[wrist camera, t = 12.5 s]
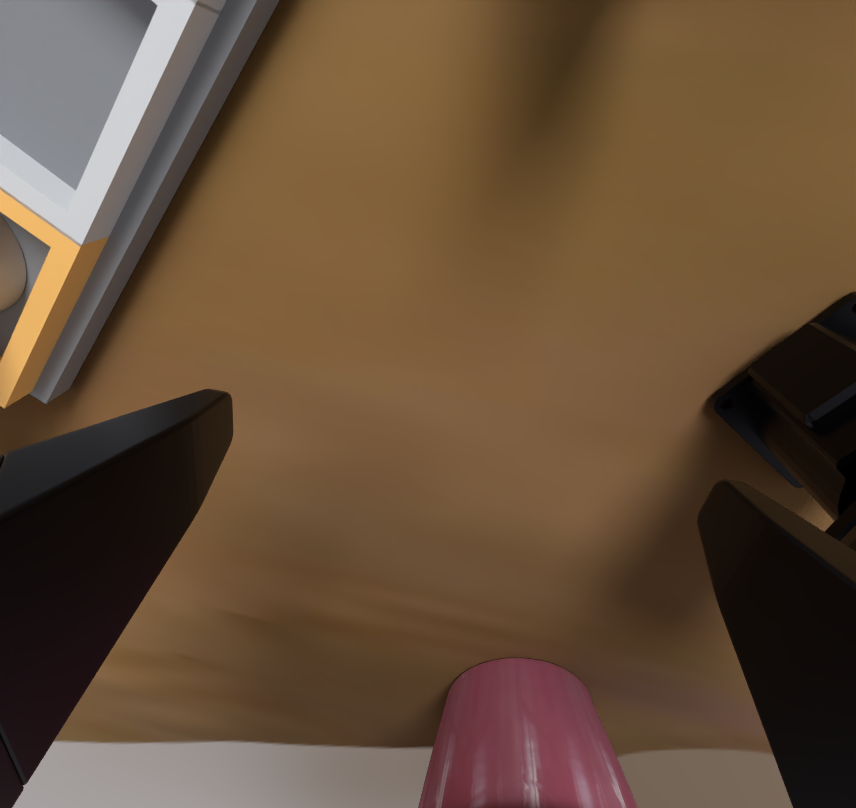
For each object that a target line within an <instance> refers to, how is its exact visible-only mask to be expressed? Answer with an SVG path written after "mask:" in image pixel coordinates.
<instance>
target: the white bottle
mask: <svg viewBox="0 0 856 808" xmlns="http://www.w3.org/2000/svg"><path fill="white" fill-rule="evenodd" d="M25 283H26V266H25V260H24V257H23V253H22V250H21V248H20V246H19V243H18V241H17V239H16V237H15V235H14V234H13V232H12V231H11V229H10V227H9V226H8V224H7V223H6V222H5V221H4V219H3V218H2V217H1V216H0V311H3V310H5V309H7V308H9V307H11V306H12V305H14V304H15V303H16V302H17V301H18V299H19V298H20V297H21V295H22V293H23V291H24V287H25Z"/></svg>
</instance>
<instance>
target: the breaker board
mask: <svg viewBox="0 0 856 808" xmlns="http://www.w3.org/2000/svg"><path fill="white" fill-rule="evenodd" d="M279 1H280V0H0V216H1V217H2V218H3V219H4V221H5V222H6V223H7V224H8V226H9V227H10V229H11V231H12V232H13V234H14V235H15V237H16V239H17V241H18V243H19V246H20V248H21V250H22V253H23V257H24V260H25V266H26V283H25V287H24V291H23V293H22V295H21V297H20V298H19V299H18V301H17V302H16V303H15V304H14V305H12V306H11V307H9V308H7V309H5V310H3V311H0V406H1V407H2V408H6V407H8V406H9V405H11V404H13V403H14V402H16V401H17V400H19V399H21V398H22V397H24V396H26V395H27V394H30V395H32V396H34V397H35V398H37V399H38V400H40V401H42V402H43V403H45V404H47V403H49V402H50V401H52V400H53V399H55V398H56V397H58V396H59V395H61V394H62V393H64V392H65V391H67V390H68V389H70V387H71V385H72V383H73V381H74V379H75V378H76V376H77V374H78V372H79V370H80V368H81V366H82V365H83V363H84V361H85V359H86V357H87V355H88V354H89V352H90V350H91V348H92V346H93V344H94V342H95V341H96V339H97V337H98V335H99V333H100V331H101V329H102V328H103V326H104V324H105V322H106V320H107V318H108V317H109V315H110V313H111V311H112V309H113V307H114V305H115V304H116V302H117V300H118V298H119V296H120V294H121V293H122V291H123V289H124V287H125V285H126V283H127V281H128V280H129V278H130V276H131V274H132V272H133V270H134V268H135V267H136V265H137V263H138V261H139V259H140V257H141V256H142V254H143V252H144V250H145V248H146V246H147V244H148V243H149V241H150V239H151V237H152V235H153V233H154V232H155V230H156V228H157V226H158V224H159V222H160V220H161V219H162V217H163V215H164V213H165V211H166V209H167V208H168V206H169V204H170V202H171V200H172V198H173V196H174V195H175V193H176V191H177V189H178V187H179V185H180V183H181V182H182V180H183V178H184V176H185V174H186V172H187V171H188V169H189V167H190V165H191V163H192V161H193V159H194V158H195V156H196V154H197V152H198V150H199V148H200V147H201V145H202V143H203V141H204V139H205V137H206V135H207V134H208V132H209V130H210V128H211V126H212V124H213V123H214V121H215V119H216V117H217V115H218V113H219V111H220V110H221V108H222V106H223V104H224V102H225V100H226V98H227V97H228V95H229V93H230V91H231V89H232V87H233V86H234V84H235V82H236V80H237V78H238V76H239V74H240V73H241V71H242V69H243V67H244V65H245V63H246V62H247V60H248V58H249V56H250V54H251V52H252V50H253V49H254V47H255V45H256V43H257V41H258V39H259V37H260V36H261V34H262V32H263V30H264V28H265V26H266V25H267V23H268V21H269V19H270V17H271V15H272V13H273V12H274V10H275V8H276V6H277V4H278V2H279Z"/></svg>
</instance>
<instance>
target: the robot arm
mask: <svg viewBox="0 0 856 808" xmlns="http://www.w3.org/2000/svg"><path fill="white" fill-rule="evenodd" d="M855 304H856V292H852V293H849V294H848V295H846V296H844V297H843V298H842V299H840V300H839V301H838V302H836V303H835V304H834V305H832V306H831V307H830V308H828V309H827V310H826V311H824V312H823V313H822V314H820V315H819V316H818V317H816V318H815V319H814V320H812V321H811V322H810V323H808V324H806V325H804V326H803V327H802V328H800V329H799V330H798V331H796V332H795V333H794V334H792V335H791V336H790V337H788V338H787V339H786V340H784V341H783V342H782V343H780V344H779V345H778V346H776V347H775V348H774V349H772V350H771V351H770V352H768V353H767V354H766V355H764V356H763V357H762V358H760V359H759V360H758V361H756V362H755V363H754V364H752V365H751V366H750V367H749V368H748V369H747V370H745V371H744V372H743V373H741V374H740V375H739V376H737V377H736V378H735V379H733V380H732V381H731V382H729V383H728V384H727V385H725V386H724V387H723V388H721V389H720V390H719V391H717V392H716V393H715V394H714V395H713V396H712V398H711V400H710V404H711V406H712V408H713V409H714V410H715V411H716V412H717V413H718V414H719V415H720V416H721V417H722V418H723V419H724V420H725V421H726V422H727V423H728V424H729V425H730V426H731V427H732V428H733V429H734V430H735V431H736V432H737V433H738V434H740V435H741V436H742V437H743V438H744V439H745V440H746V441H747V442H748V443H749V444H750V445H751V446H752V447H753V448H754V449H755V450H756V451H757V452H758V453H759V454H760V455H761V456H762V457H763V458H764V459H766V460H767V461H768V462H769V463H770V464H771V465H772V466H773V467H774V468H775V469H776V470H777V471H778V472H779V473H780V474H781V475H782V476H783V477H784V478H785V479H786V480H787V481H788V482H789V483H790V484H792V485H793V486H794V487H799V488H801V487H804V488H805V489H806V490H807V492H808V493H809V494H810V495H811V496H812V497H813V498H814V499H815V500H816V501H817V502H818V504H819V505H820V506H821V507H822V508H823V509H824V510H825V511H826V512H827V513H828V514H829V516H830V517H831V518H832V519H833V520H834V522H833V523H832V524H831V525H830V527H829V528H828V529H827V530H826V531H825V532H824V531H822V530H820V529H819V528H817V527H815V526H814V525H812V524H811V523H809V522H807V521H806V520H804V519H802V518H801V517H799V516H798V515H796V514H794V513H793V512H791V511H789V510H788V509H786V508H785V507H783V506H781V505H780V504H778V503H776V502H775V501H773V500H772V499H770V498H768V497H767V496H765V495H763V494H762V493H760V492H759V491H757V490H755V489H754V488H752V487H750V486H749V485H747V484H745V483H742V482H738V481H732V480H726V479H722V480H719V481H717V482H716V483H715V485H714V486H713V488H712V490H711V492H710V493H709V495H708V497H707V499H706V501H705V502H704V504H703V506H702V508H701V510H700V512H699V514H698V519H697V524H698V529H699V533H700V537H701V541H702V545H703V549H704V553H705V557H706V561H707V565H708V569H709V573H710V577H711V581H712V585H713V589H714V592H715V596H716V599H717V602H718V605H719V608H720V611H721V614H722V617H723V619H724V622H725V625H726V627H727V630H728V633H729V636H730V638H731V641H732V644H733V646H734V649H735V652H736V654H737V657H738V660H739V663H740V665H741V668H742V671H743V673H744V676H745V679H746V682H747V684H748V687H749V690H750V692H751V695H752V698H753V700H754V703H755V706H756V709H757V711H758V714H759V717H760V719H761V722H762V725H763V728H764V730H765V733H766V736H767V738H768V741H769V744H770V746H771V749H772V752H773V755H774V757H775V760H776V763H777V765H778V768H779V771H780V773H781V776H782V779H783V781H784V784H785V787H786V790H787V792H788V795H789V798H790V801H791V803H792V806H793V808H856V309H855V310H853V311H852V308H853V306H854V305H855ZM726 399H729V402H728V403H727V404H725V405H721V403H722V402H723V401H724V400H726ZM232 437H233V409H232V398H231V395H230V394H229V393H228V392H225V391H219V390H213V389H204V390H201V391H198V392H195V393H192V394H188V395H185V396H182V397H179V398H176V399H173V400H170V401H166V402H163V403H160V404H157V405H154V406H151V407H148V408H145V409H141V410H138V411H135V412H132V413H129V414H126V415H123V416H120V417H116V418H113V419H110V420H107V421H104V422H101V423H98V424H94V425H91V426H88V427H85V428H82V429H79V430H76V431H73V432H69V433H66V434H63V435H60V436H57V437H54V438H51V439H47V440H44V441H41V442H38V443H35V444H32V445H29V446H26V447H22V448H19V449H16V450H13V451H10V452H7V453H6V454H5V456H3V455H0V808H12V807H13V805H14V804H15V802H16V800H17V799H18V797H19V796H20V794H21V792H22V791H23V788H24V787H23V785H25V784H26V783H27V782H28V781H29V779H30V778H31V776H32V774H33V773H34V771H35V770H36V768H37V767H38V765H39V763H40V761H41V760H42V759H43V757H44V755H45V754H46V752H47V751H48V749H49V748H50V746H51V744H52V743H53V741H54V740H55V738H56V736H57V735H58V733H59V732H60V730H61V729H62V727H63V725H64V724H65V722H66V721H67V719H68V717H69V716H70V714H71V713H72V711H73V710H74V708H75V706H76V705H77V703H78V702H79V700H80V698H81V697H82V695H83V694H84V692H85V691H86V689H87V687H88V686H89V684H90V683H91V681H92V679H93V678H94V676H95V675H96V673H97V672H98V670H99V668H100V667H101V665H102V664H103V662H104V660H105V659H106V657H107V656H108V654H109V653H110V651H111V649H112V648H113V646H114V645H115V643H116V641H117V640H118V638H119V637H120V635H121V634H122V632H123V630H124V629H125V627H126V626H127V624H128V622H129V621H130V619H131V618H132V616H133V615H134V613H135V611H136V610H137V608H138V607H139V605H140V603H141V602H142V600H143V599H144V597H145V596H146V594H147V592H148V591H149V589H150V588H151V586H152V584H153V583H154V581H155V580H156V578H157V576H158V575H159V573H160V572H161V570H162V569H163V567H164V565H165V564H166V562H167V561H168V559H169V557H170V556H171V554H172V553H173V551H174V550H175V548H176V546H177V545H178V543H179V542H180V540H181V538H182V537H183V535H184V534H185V532H186V531H187V529H188V527H189V526H190V524H191V523H192V521H193V519H194V518H195V516H196V514H197V513H198V511H199V509H200V507H201V505H202V503H203V501H204V499H205V497H206V495H207V493H208V491H209V489H210V486H211V484H212V482H213V480H214V478H215V476H216V474H217V472H218V469H219V467H220V465H221V463H222V461H223V459H224V457H225V455H226V453H227V450H228V448H229V446H230V444H231V441H232Z"/></svg>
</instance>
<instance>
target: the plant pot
mask: <svg viewBox="0 0 856 808" xmlns="http://www.w3.org/2000/svg"><path fill="white" fill-rule="evenodd" d="M418 808H638V807H637V804H636V802H635V800H634V797H633V795H632V792H631V790H630V787H629V785H628V783H627V780H626V778H625V776H624V773H623V771H622V768H621V766H620V764H619V761H618V759H617V757H616V754H615V752H614V750H613V747H612V745H611V743H610V740H609V738H608V736H607V734H606V732H605V729H604V727H603V725H602V723H601V721H600V718H599V716H598V714H597V712H596V709H595V707H594V704H593V702H592V700H591V697H590V695H589V692H588V691H587V689H586V687H585V686H584V684H583V683H582V682H581V681H580V680H579V679H578V678H577V677H576V676H574V675H573V674H572V673H570V672H569V671H567V670H565V669H563V668H562V667H559V666H557V665H554V664H551V663H548V662H545V661H541V660H535V659H527V658H505V659H498V660H493V661H489V662H485V663H482V664H479V665H477V666H475V667H473V668H471V669H469V670H467V671H466V672H464V673H463V674H461V675H460V676H459V677H458V678H457V679H456V681H455V682H454V683H453V685H452V686H451V688H450V690H449V692H448V696H447V700H446V704H445V707H444V711H443V715H442V719H441V722H440V726H439V729H438V733H437V736H436V740H435V743H434V747H433V751H432V755H431V759H430V763H429V767H428V771H427V774H426V779H425V783H424V787H423V791H422V795H421V799H420V803H419V807H418Z"/></svg>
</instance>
